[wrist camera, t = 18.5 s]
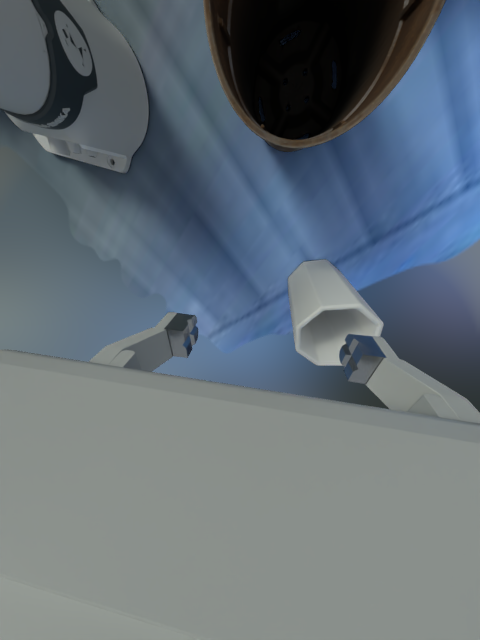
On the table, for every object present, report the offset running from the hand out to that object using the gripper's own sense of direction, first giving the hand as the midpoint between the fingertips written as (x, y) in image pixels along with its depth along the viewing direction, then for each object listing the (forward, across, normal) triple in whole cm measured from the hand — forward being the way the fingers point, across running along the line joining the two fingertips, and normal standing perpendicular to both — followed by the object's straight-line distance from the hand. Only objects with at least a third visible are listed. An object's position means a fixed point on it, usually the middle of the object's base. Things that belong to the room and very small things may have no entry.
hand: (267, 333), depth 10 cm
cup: (+31, +10, -9) cm, 34 cm away
